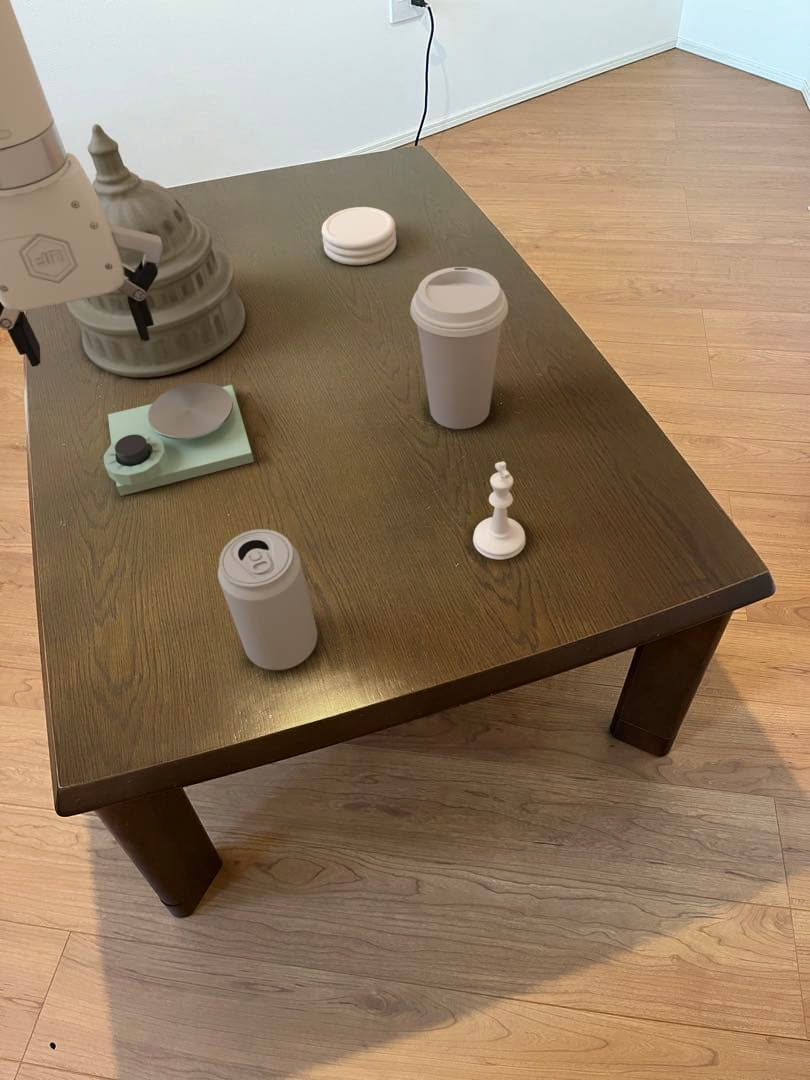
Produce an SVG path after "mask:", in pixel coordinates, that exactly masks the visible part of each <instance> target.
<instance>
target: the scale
mask: <svg viewBox="0 0 810 1080" xmlns="http://www.w3.org/2000/svg"><path fill="white" fill-rule="evenodd" d="M221 387H222V388H223V389H225V390H226V391H227V392H228V393H229V394H230V396H231V399H232V403H233V408H232V412H231V414H230V416H229V418H228V419H227V420H226V422H225V423H224V424H223V425H221V426H220V427H219V428H217V429H216V430H214V431H212V432H210V433H208V434H206V435H203V436H200V437H197V438H192V439H171V438H167V437H164V436H161V435H159V434H158V433H156V432H155V431H154V430H153V429H152V428H151V426H150V424H149V421H148V412H149V409H150V407H151V405H152V404H153V403H150V404H146V405H141V406H137V407H132V408H129V409H128V408H127V409H125V410H120V411H117V412H112V413H108V414H107V420H108V426H109V434H110V435H109V436H110V443H111V444H110V445H109V447H108V449H106V451H105V453H104V455H103V463H104V468H105V470H106V473H107V475H108V476H109V478H111V480H113V481H114V482H115V485H116V486H115V487H116V489H117V491H118V493H119V495H120V496H121V497H122V496H123V497H124V496H126V495H130V494H134V493H138V492H142V491H146V490H149V489H154V488H157V487H162V486H166V485H170V484H173V483H177V482H181V481H186V480H189V479H193V478H197V477H200V476H205V475H209V474H213V473H215V472H220V471H224V470H228V469H232V468H236V467H239V466H244V465H248V464H253V463H254V462H255V458H254V455H253V452H252V448H251V445H250V441H249V439H248V435H247V430H246V428H245V424H244V421H243V417H242V413H241V410H240V407H239V406H240V405H239V404H238V400H237V397H236V396H237V395H236V393H235V389H234V385H233V384H229V385H225V386H221ZM133 434H136V435H141V436H143V437H144V438H145V439H146V441H147V444H148V446H149V449H150V456H149V458H148V459H147V460H146V461H145V462H143V463H142V464H139V465H135V466H125V465H123V464H122V463H121V462H120V460H119V458H118V456H117V454H116V451H115V445H116V443H117V442H118V441H119V440H120V439H121V438H123V437H125V436H128V435H133Z"/></svg>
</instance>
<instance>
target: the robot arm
mask: <svg viewBox="0 0 810 1080" xmlns="http://www.w3.org/2000/svg"><path fill="white" fill-rule="evenodd" d="M13 7H14V6H13V4H12V2H11V0H0V328H1V329H3V330H6V331H7V333H8V334H9V336H10V338H11V341H12V342H13V344H14V347H15V348H16V350H17V352H18V354H19V355H20V356H23V355H26V357H27V360H28V361H29V363H30V365H31V367H38V366H40V364H41V362H42V361H41V346H40V343H39V340H38V338H37V337H36V334H35V332H34V329H33V327H32V326H31V323H30V322H29V319H28V318H27V315H26V313H25V312H28V311H33V310H39V309H43V308H48V307H53V306H58V305H63V304H66V303H68V302H73V301H77V300H82V299H86V298H91V297H95V296H99V295H104V294H107V293H110V292H113V291H115V290H119V291H121V292H122V293H124V294H126V295H127V298H128V304H129V308H130V310H131V313H132V316H133V319H134V322H135V324H136V327H137V330H138V333H139V335H140V338H141V341H142V340H144V342H145V341H149V340H150V338H149V333H148V326H153V325H154V323H153V318H152V315H151V312H150V309H149V306H148V303H147V300H146V292H147V290H148V289H149V287H150V286H151V284H152V283H153V281H154V279H155V278H156V276H157V274H158V267H159V264H160V260H161V255H162V251H163V245H162V240H161V238H160V237H159V236H157V235H153V234H149V233H145V232H140V231H136V230H132V229H128V228H124V227H119V226H115V225H111V224H109V221H108V219H107V216H106V214H105V212H104V209H103V207H102V205H101V203H100V201H99V198H98V196H97V194H96V192H95V190H94V188H93V186H92V184H93V183H92V182H91V180H90V178H89V177H88V175H87V173H86V171H85V170H84V168H83V166H82V164H81V163H80V161H79V160H78V158H77V157H76V156H75V155H74V154H73V153H70V152H67V151H66V149H65V147H64V143H63V141H62V138H61V135H60V133H59V129H58V127H57V124H56V122H55V119H54V117H53V114H52V111H51V108H50V105H49V102H48V99H47V98H46V97H47V96H46V94H45V91H44V89H43V86H42V83H41V81H40V78H39V75H38V73H37V70H36V67H35V65H34V62H33V59H32V56H31V54H30V50H29V48H28V44H27V43H26V40H25V37H24V35H23V34H24V33H23V32H22V29H21V26H20V24H19V20H18V18H17V15H16V13H15V10H14V8H13ZM119 247H121V248H126V249H130V250H134V251H139V252H142V253H144V256H143V259H142V261H141V262H140V264H139V265H138V267H137V269H136V270H133V269H132V268H130V267H129V266H127V265H125V264H124V263H122V261H121V257H120V251H119Z"/></svg>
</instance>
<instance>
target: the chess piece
mask: <svg viewBox="0 0 810 1080" xmlns="http://www.w3.org/2000/svg"><path fill="white" fill-rule="evenodd" d="M494 469H496V470H497V472H495V473H493V474H492V475H491V477H490V479H489V483H490V486H491V488H492V490H493V491H492V492H491V493H490V494H489V496H488V502H489V504H490V505H491V506H492V507H494V509H493V514H492V516H491V517H487V518H485V519H483V520H482V521H480V522H479V523H478V524H477V525H476V527H475V528H474V532H473V536H472V543H473V546H474V548H475V549H476V551H478V553H480V554H481V555H482V556H484V557H486V558H489V559H491V560H502V561H503V560H508V559H512V558H514V557H516V556H518V555H519V554H520V553H521V552H522V551H523V549H524V547H525V546H526V534H525V533H526V532H525V530H524V527H522V525H521V524H520V523H519V522H518V521H516V520H515V519H513V518H510V517H508V511H507V508H508V507H510V506H511V505H512V504H513V502H514V497H513V495H512V493H511V492H510V490H511V488H512V487H513V484H514V477H513V476H512V475H511V473H510V472H509V471H508V470H507V463H506V462H505V461H504V460H502V461H498V462H496V463H494Z"/></svg>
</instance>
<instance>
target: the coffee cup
mask: <svg viewBox="0 0 810 1080" xmlns="http://www.w3.org/2000/svg"><path fill="white" fill-rule="evenodd" d="M409 308H410V309H409V311H410V312H409V313H410V316H411V318H412V320H413V322H414V323H415V324H416V327H417V335H418V341H419V346H420V353H421V359H422V365H423V372H424V378H425V385H426V386H425V387H426V391H427V399H428V405H429V412H430V416H431V417H432V419H433V421H435V422H436V423H437V424H439V425H440V426H442V427H444V428H448V429H453V430H466V429H471V428H474V427H476V426H478V425H481V424H482V423H483V422H485V420H486V419H487V418H488V416H489V414H490V411H491V408H490V407H491V403H492V395H493V394H492V393H493V388H494V379H495V373H496V364H497V357H498V350H499V345H500V337H501V336H500V335H501V329H502V324H503V323H502V322H503V321H504V320H505V318H506V317H507V315H508V313H509V303H508V299H507V296H506V295H505V292H504V290H503V289H502V288H501V286H500V283H499V281H498V280H497V279H496V278H495V276H494V275H492V274H491V273H489V272H488V271H485V270H482V269H479V268H474V267H470V266H469V267H467V266H452V267H447V268H442V269H439V270H436V271H434V272H432V273H430V274H428V275H427V276H426V277H424V278H423V279H422V280H421V282H420V283H419V285H418V287H417V290H416V291H415V293H414V294H413V296H412V300H411V303H410V307H409Z"/></svg>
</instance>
